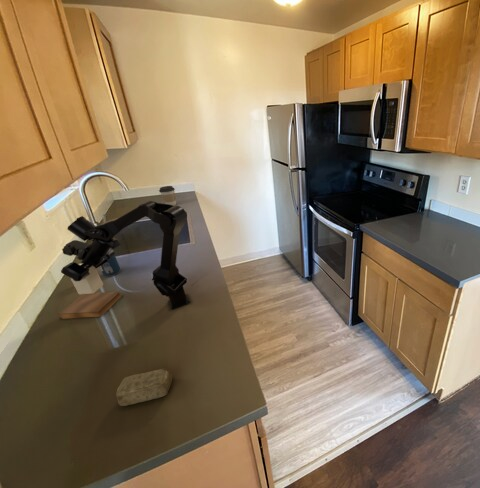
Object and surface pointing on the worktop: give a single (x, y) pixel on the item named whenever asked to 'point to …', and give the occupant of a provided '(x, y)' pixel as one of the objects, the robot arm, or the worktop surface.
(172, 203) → the coffee cup
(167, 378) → the stone block
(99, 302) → the wooden base plate
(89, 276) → the cream box
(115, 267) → the soda can
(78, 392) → the worktop surface
